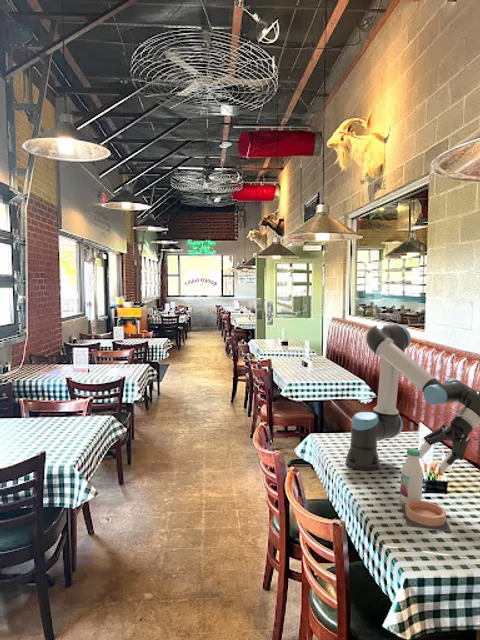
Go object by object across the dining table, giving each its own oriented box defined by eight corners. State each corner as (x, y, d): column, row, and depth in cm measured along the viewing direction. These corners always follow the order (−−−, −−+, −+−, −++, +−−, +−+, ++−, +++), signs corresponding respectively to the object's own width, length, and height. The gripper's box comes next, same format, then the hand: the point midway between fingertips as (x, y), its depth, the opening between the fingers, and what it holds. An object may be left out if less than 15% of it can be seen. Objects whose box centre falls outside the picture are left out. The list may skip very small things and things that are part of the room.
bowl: (408, 523, 158) (408, 514, 158) (403, 506, 171) (403, 498, 171) (449, 529, 156) (449, 519, 156) (440, 511, 168) (441, 502, 168)
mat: (407, 526, 157) (407, 525, 157) (401, 505, 173) (401, 504, 173) (451, 532, 154) (451, 531, 154) (441, 510, 170) (441, 509, 170)
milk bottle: (420, 499, 179) (423, 448, 178) (421, 507, 172) (425, 454, 171) (399, 495, 182) (402, 445, 180) (399, 503, 174) (402, 451, 173)
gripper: (495, 438, 167) (457, 482, 165) (448, 419, 191) (414, 457, 189) (483, 425, 166) (445, 468, 163) (438, 407, 190) (404, 445, 187)
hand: (428, 462), depth 176 cm, fingers open, 13 cm apart
